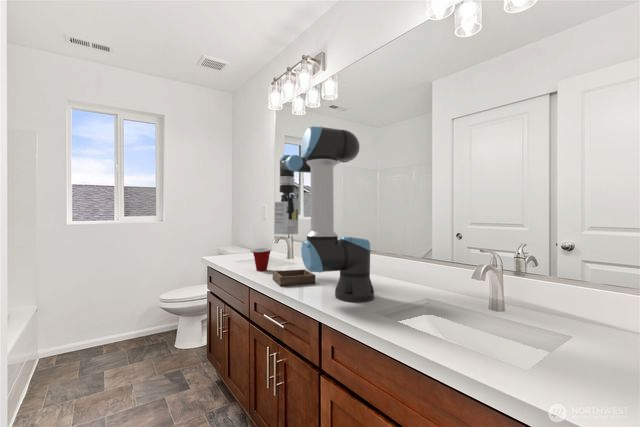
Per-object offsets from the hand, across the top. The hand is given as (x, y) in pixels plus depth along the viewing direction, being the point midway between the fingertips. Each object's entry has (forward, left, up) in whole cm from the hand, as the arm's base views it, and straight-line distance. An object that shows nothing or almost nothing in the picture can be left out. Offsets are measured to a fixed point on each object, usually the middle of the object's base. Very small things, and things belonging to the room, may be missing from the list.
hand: (286, 225), depth 161 cm
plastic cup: (+15, +10, -26) cm, 32 cm away
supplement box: (0, 0, -5) cm, 5 cm away
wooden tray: (-18, +1, -26) cm, 31 cm away
